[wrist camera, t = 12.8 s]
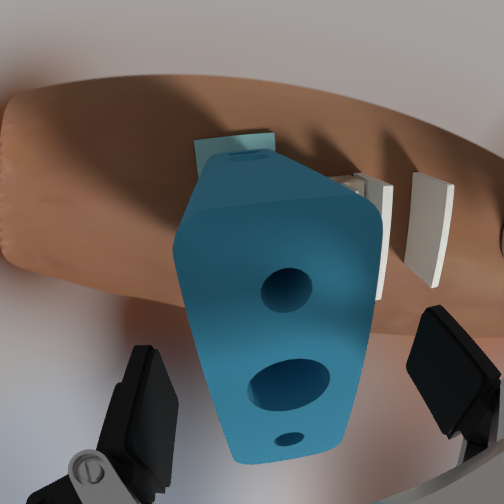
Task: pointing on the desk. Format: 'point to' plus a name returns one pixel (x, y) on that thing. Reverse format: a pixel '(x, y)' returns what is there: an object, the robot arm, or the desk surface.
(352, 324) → the block
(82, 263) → the desk surface
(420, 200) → the rack
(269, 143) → the mat
